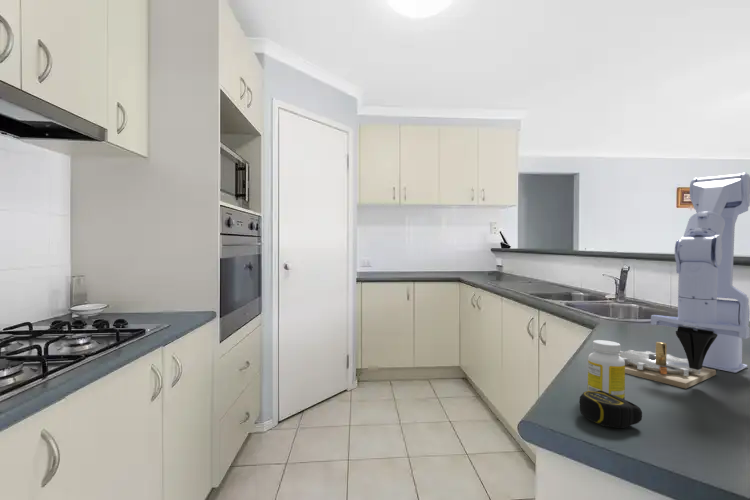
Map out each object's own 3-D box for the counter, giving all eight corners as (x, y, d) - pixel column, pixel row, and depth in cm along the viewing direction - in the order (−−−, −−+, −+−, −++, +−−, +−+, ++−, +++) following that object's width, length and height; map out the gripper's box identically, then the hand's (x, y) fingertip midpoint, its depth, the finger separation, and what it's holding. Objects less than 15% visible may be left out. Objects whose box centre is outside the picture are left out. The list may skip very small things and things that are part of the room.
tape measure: (645, 430, 53) (645, 403, 53) (608, 436, 51) (609, 408, 51) (602, 410, 60) (603, 387, 60) (568, 415, 58) (569, 390, 58)
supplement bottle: (625, 399, 64) (626, 342, 65) (623, 409, 60) (625, 348, 60) (589, 391, 68) (590, 337, 68) (585, 400, 63) (586, 342, 63)
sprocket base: (631, 356, 93) (632, 351, 93) (715, 374, 80) (716, 368, 80) (597, 366, 84) (597, 360, 84) (685, 388, 71) (686, 381, 71)
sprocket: (610, 351, 92) (611, 328, 92) (688, 361, 85) (689, 336, 85) (618, 367, 79) (619, 340, 79) (712, 380, 72) (713, 350, 72)
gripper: (645, 294, 76) (643, 361, 76) (742, 303, 64) (740, 382, 64) (659, 293, 80) (657, 356, 80) (753, 301, 68) (751, 376, 68)
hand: (695, 368), depth 73 cm, fingers closed
